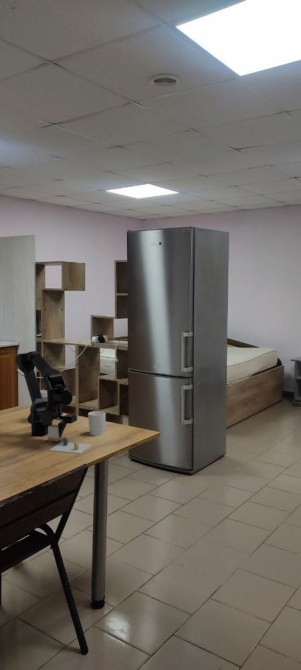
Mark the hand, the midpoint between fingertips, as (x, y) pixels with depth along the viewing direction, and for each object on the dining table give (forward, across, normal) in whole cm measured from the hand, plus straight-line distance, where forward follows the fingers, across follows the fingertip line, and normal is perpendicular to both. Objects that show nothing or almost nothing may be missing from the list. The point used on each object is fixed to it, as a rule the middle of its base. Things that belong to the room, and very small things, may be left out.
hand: (55, 437), depth 218 cm
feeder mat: (+2, -1, 0) cm, 3 cm away
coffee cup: (+3, -23, +30) cm, 38 cm away
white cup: (+3, +13, +15) cm, 20 cm away
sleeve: (+1, 0, 0) cm, 1 cm away
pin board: (+2, +11, -7) cm, 13 cm away
